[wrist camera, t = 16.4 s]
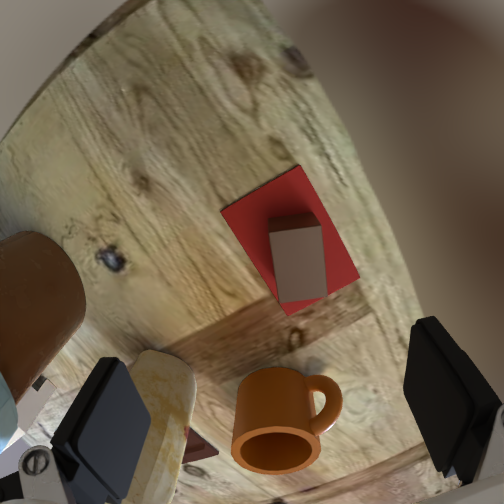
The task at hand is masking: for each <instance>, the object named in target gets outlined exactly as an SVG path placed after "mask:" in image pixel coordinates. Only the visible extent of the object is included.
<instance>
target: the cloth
mask: <svg viewBox="0 0 504 504" xmlns="http://www.w3.org/2000/svg"><path fill="white" fill-rule="evenodd" d="M309 212H313V213H314V214H315V216H316V217H317V219H318V221H319V222H320V224H321V225H322V234H323V244H324V254H325V265H326V277H327V290H328V295H330V294H331V293H333V292H335V291H337V290H339V289H341V288H343V287H344V286H346V285H348V284H350V283H352V282H354V281H355V280H357V279H359V278H360V276H359V274H358V272H357V270H356V268H355V266H354V263H353V261H352V260H351V258H350V256H349V254H348V252H347V250H346V248H345V246H344V244H343V242H342V240H341V238H340V236H339V234H338V232H337V230H336V228H335V227H334V225H333V223H332V221H331V219H330V217H329V215H328V213H327V212H326V210H325V208H324V206H323V204H322V202H321V201H320V199H319V197H318V195H317V193H316V192H315V190H314V188H313V186H312V185H311V183H310V181H309V179H308V178H307V176H306V174H305V172H304V171H303V169H302V167H301V165H299V166H297V167H295V168H293V169H292V170H290V171H288V172H286V173H285V174H283V175H281V176H279V177H278V178H276V179H274V180H272V181H271V182H269V183H267V184H266V185H264V186H262V187H260V188H259V189H257V190H255V191H254V192H252V193H250V194H249V195H247V196H245V197H244V198H242V199H240V200H239V201H237V202H235V203H234V204H232V205H230V206H229V207H227V208H225V209H224V210H222V211H221V212H220V213H221V214H222V216H223V217H224V219H225V220H226V222H227V223H228V225H229V227H230V228H231V230H232V231H233V233H234V234H235V236H236V237H237V239H238V241H239V242H240V244H241V245H242V247H243V248H244V250H245V251H246V253H247V254H248V256H249V258H250V259H251V261H252V262H253V264H254V265H255V267H256V268H257V270H258V271H259V273H260V275H261V276H262V278H263V279H264V281H265V282H266V284H267V285H268V287H269V288H270V290H271V291H272V293H273V295H274V296H275V298H276V299H277V301H278V294H277V288H276V281H275V274H274V268H273V261H272V255H271V248H270V242H269V235H268V218H273V217H280V216H287V215H294V214H301V213H309ZM322 298H324V297H322ZM322 298H315V299H309V300H302V301H295V302H287V303H279V304H280V305H281V307H282V308H283V310H284V311H285V313H286V315H287V316H289V315H291V314H293V313H295V312H297V311H299V310H301V309H303V308H305V307H307V306H309V305H311V304H313V303H314V302H316V301H318V300H320V299H322ZM278 302H279V301H278Z"/></svg>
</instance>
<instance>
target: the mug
mask: <svg viewBox="0 0 504 504" xmlns="http://www.w3.org/2000/svg"><path fill="white" fill-rule="evenodd" d="M315 391H319V392H322V393H324V394H325V396H326V403H325V406H324V408H323V409H322V411H321V412H320V413H319V414H318V415H317V416H316V411H315V404H314V397H313V392H315ZM342 403H343V398H342V393H341V390H340V388H339V386H338V384H337V383H336V382H335V381H333V380H332V379H331V378H329V377H327V376H324V375H311V376H308V377H305V376H303V375H302V374H301V373H299V372H298V371H294V370H291V369H288V368H280V367H271V368H265V369H261V370H258V371H256V372H254V373H251V374H250V375H249V376H247V377H246V378H245V379H244V380H243V381H242V383H241V384H240V386H239V388H238V396H237V404H236V413H235V421H234V429H233V437H232V446H231V455H232V457H233V459H234V461H235V462H237V463H238V464H239V465H240V466H241V467H243V468H245V469H247V470H250V471H252V472H256V473H261V474H269V475H280V474H288V473H292V472H296V471H299V470H302V469H304V468H306V467H307V466H309V465H311V464H312V463H313V462H314V461H315V460H316V459H317V458H318V457H319V454H320V452H321V446H320V438H319V435H321V434H323V433H324V432H326V431H328V430H329V429H330V428H331V427H332V426H333V425H334V423H335V422H336V420H337V419H338V417H339V415H340V412H341V410H342Z"/></svg>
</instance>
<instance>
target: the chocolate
mask: <svg viewBox="0 0 504 504" xmlns="http://www.w3.org/2000/svg"><path fill="white" fill-rule="evenodd" d="M268 235H269V242H270V248H271V255H272V261H273V268H274V274H275V281H276V288H277V294H278V301H279V303H287V302H295V301H302V300H309V299H315V298H322V297H327V296H328V290H327V277H326V265H325V254H324V244H323V234H322V225H321V224H320V222H319V221H318V219H317V217H316V216H315V214H314V213H313V212H309V213H301V214H294V215H287V216H280V217H273V218H268Z"/></svg>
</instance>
